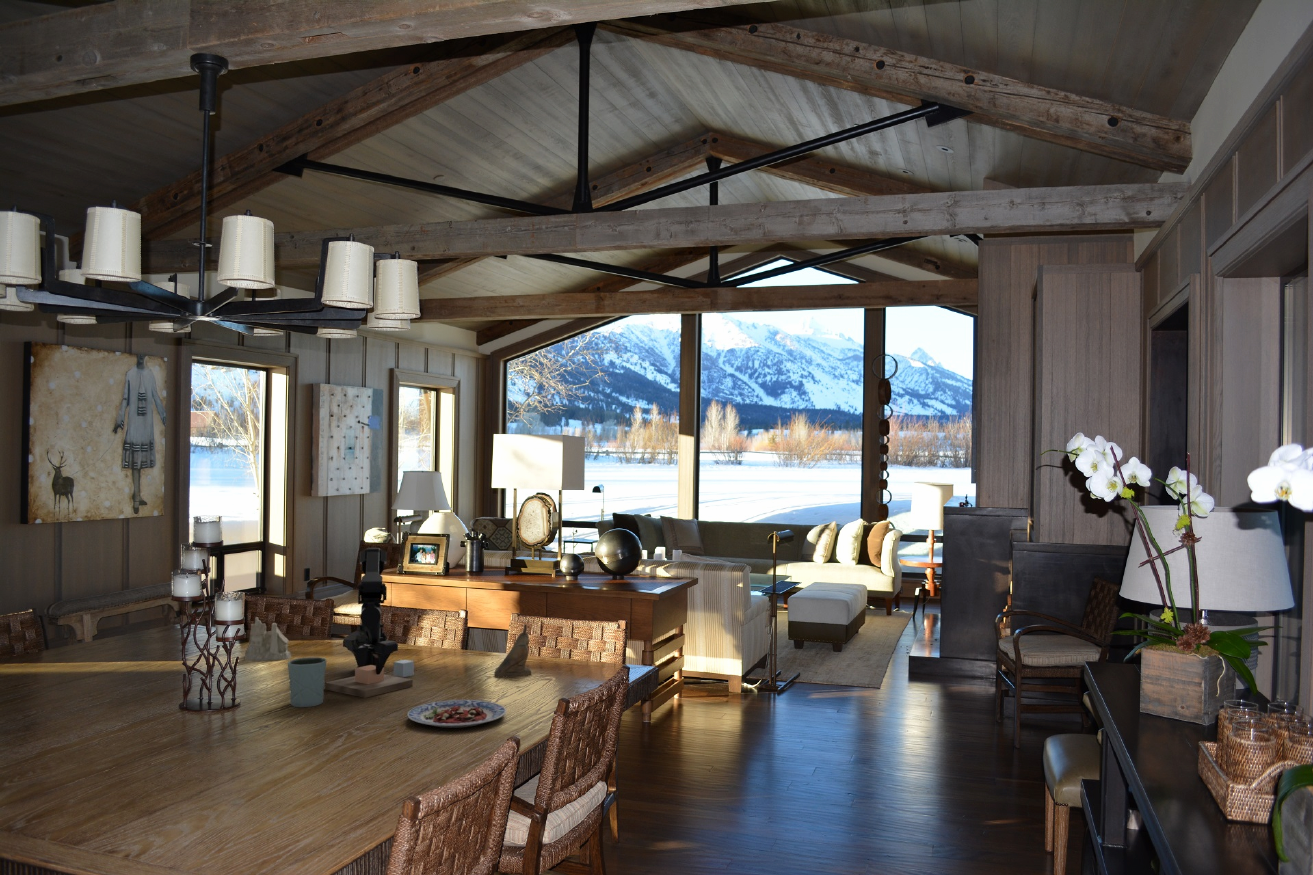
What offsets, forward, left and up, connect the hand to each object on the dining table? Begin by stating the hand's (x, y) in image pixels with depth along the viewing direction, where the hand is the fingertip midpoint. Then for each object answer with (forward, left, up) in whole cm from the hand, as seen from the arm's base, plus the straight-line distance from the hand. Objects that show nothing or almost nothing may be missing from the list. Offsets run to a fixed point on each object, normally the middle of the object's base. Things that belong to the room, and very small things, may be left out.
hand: (369, 672), depth 282 cm
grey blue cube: (-5, +18, -5) cm, 19 cm away
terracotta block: (0, 0, -2) cm, 2 cm away
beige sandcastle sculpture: (-65, +11, -5) cm, 66 cm away
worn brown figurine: (+23, +39, -5) cm, 46 cm away
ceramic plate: (+47, -10, -5) cm, 48 cm away
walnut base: (0, 0, -4) cm, 4 cm away
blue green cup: (+1, -23, -5) cm, 23 cm away
